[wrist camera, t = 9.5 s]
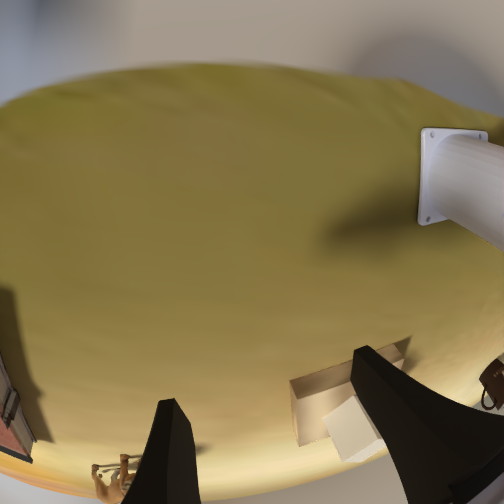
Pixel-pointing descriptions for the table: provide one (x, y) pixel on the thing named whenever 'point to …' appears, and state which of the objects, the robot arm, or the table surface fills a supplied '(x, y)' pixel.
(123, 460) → the lion figurine
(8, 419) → the book
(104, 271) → the table surface
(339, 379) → the oak block
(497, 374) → the coffee mug
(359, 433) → the white block
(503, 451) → the robot arm
